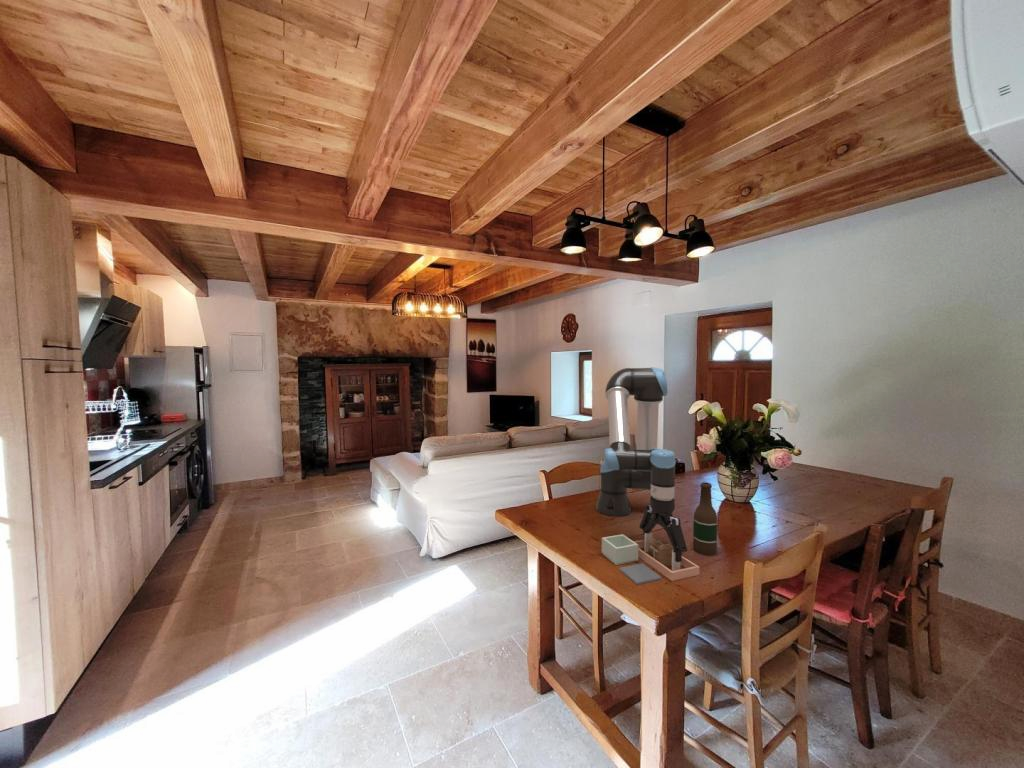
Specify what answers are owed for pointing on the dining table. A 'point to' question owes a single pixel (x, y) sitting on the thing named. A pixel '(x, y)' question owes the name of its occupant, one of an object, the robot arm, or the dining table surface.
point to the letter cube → (661, 551)
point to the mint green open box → (619, 549)
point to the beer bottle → (705, 523)
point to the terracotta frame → (672, 575)
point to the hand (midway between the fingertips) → (661, 560)
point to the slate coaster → (640, 573)
